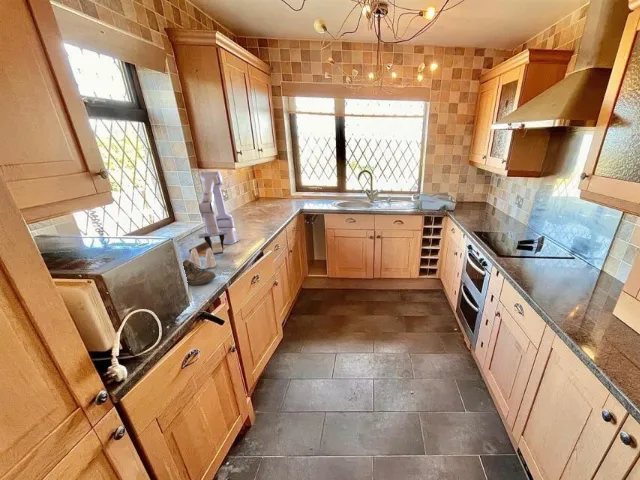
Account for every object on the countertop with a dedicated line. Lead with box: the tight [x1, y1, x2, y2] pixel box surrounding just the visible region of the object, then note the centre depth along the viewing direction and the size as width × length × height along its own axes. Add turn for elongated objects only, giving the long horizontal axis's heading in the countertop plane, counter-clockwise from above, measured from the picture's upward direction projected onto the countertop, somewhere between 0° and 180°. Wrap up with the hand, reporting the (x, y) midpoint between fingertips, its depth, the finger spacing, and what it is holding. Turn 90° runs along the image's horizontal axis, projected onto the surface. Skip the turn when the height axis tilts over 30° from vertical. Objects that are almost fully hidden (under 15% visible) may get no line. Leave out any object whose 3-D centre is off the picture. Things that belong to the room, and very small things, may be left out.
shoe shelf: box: [188, 240, 230, 257], centre depth 183 cm, size 20×12×4 cm, turn 176°
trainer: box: [212, 240, 224, 256], centre depth 171 cm, size 11×5×5 cm, turn 26°
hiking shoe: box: [181, 259, 217, 286], centre depth 142 cm, size 9×21×12 cm, turn 89°
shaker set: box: [189, 247, 217, 269], centre depth 155 cm, size 12×4×11 cm, turn 125°
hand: (217, 249), depth 172 cm, fingers closed on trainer, 4 cm apart
